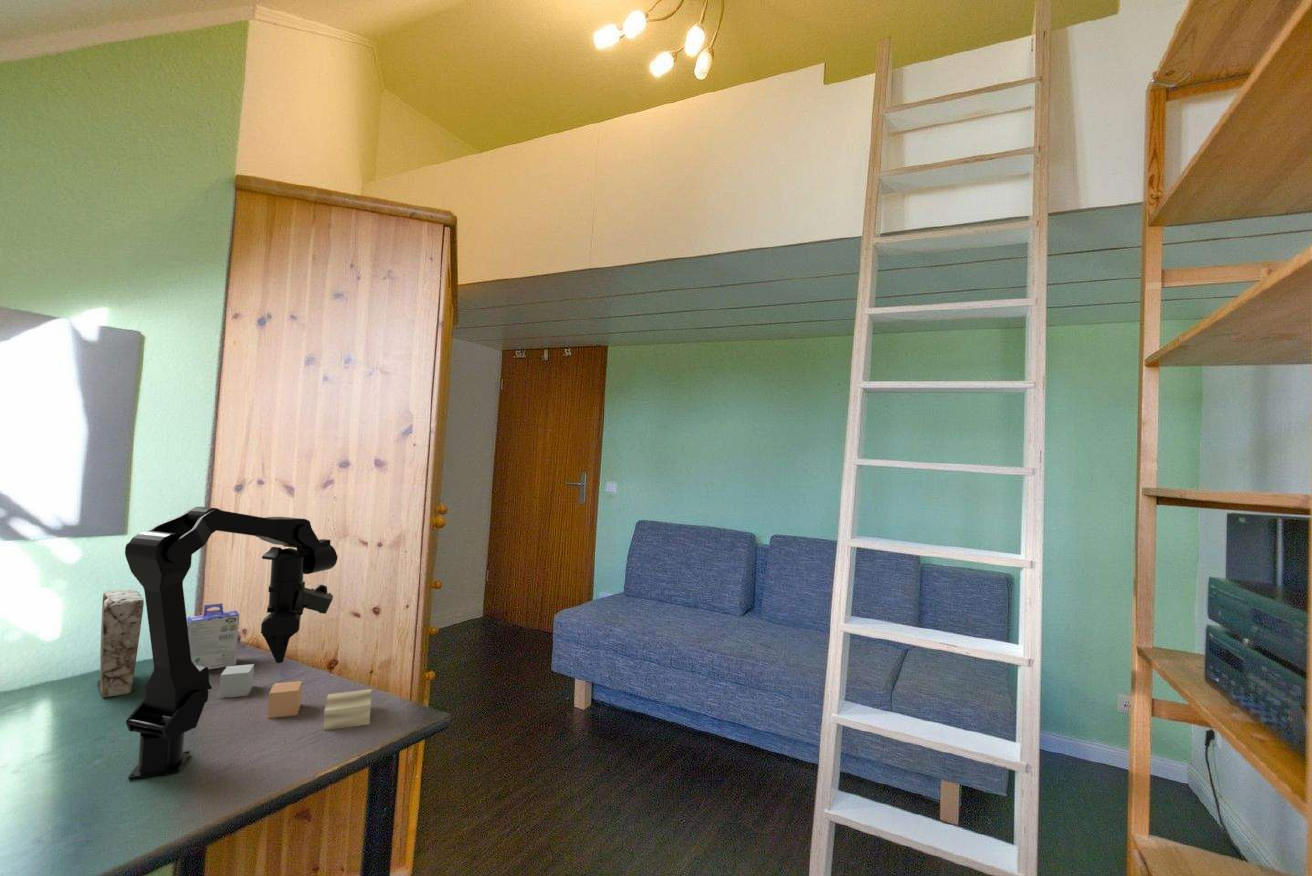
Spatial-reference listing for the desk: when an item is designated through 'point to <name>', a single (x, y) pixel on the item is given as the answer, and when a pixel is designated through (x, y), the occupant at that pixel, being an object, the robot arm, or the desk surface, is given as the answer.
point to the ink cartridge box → (214, 637)
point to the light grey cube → (236, 681)
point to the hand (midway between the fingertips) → (281, 655)
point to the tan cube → (284, 699)
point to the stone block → (119, 640)
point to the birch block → (347, 709)
